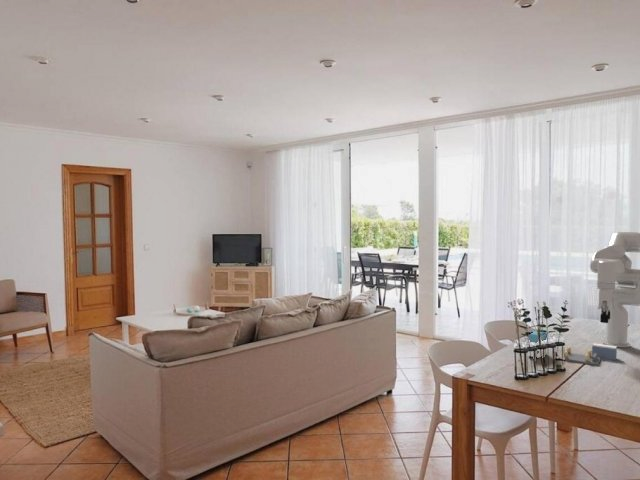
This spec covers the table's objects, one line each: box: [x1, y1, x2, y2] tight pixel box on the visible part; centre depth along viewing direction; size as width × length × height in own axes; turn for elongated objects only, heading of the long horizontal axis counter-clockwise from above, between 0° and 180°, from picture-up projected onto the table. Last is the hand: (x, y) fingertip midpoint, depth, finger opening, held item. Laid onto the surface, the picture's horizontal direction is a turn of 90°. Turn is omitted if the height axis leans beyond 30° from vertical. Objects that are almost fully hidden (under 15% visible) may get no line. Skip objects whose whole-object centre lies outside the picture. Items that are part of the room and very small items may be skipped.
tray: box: [564, 346, 602, 367], centre depth 228 cm, size 12×18×4 cm, turn 54°
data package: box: [528, 330, 548, 354], centre depth 234 cm, size 12×4×12 cm, turn 133°
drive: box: [591, 342, 618, 361], centre depth 231 cm, size 4×10×6 cm, turn 54°
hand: (605, 320), depth 230 cm, fingers open, 9 cm apart
